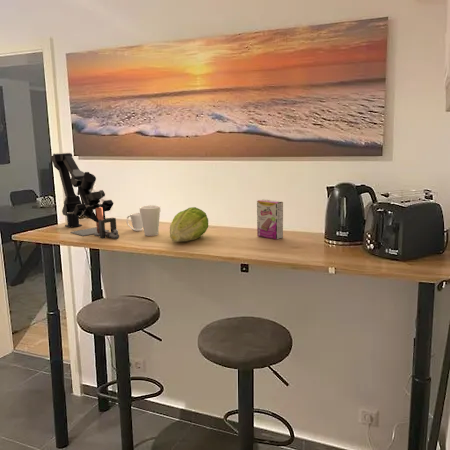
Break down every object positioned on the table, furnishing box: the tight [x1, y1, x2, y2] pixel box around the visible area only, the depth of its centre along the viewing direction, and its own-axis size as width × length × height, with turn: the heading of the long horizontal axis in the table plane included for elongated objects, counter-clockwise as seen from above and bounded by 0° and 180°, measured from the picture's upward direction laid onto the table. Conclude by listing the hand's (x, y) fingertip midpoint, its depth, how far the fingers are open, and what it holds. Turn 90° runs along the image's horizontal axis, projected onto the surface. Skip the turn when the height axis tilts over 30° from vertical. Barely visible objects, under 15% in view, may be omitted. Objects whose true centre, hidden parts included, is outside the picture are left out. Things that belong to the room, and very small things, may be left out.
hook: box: [93, 207, 120, 240], centre depth 224 cm, size 17×6×13 cm, turn 45°
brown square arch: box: [98, 217, 117, 239], centre depth 223 cm, size 2×8×8 cm, turn 135°
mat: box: [70, 226, 110, 237], centre depth 236 cm, size 12×14×1 cm
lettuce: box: [169, 206, 209, 242], centre depth 213 cm, size 14×24×15 cm
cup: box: [126, 212, 144, 232], centre depth 237 cm, size 7×10×8 cm
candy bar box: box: [256, 198, 284, 241], centre depth 214 cm, size 11×5×16 cm, turn 47°
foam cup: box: [139, 204, 161, 237], centre depth 226 cm, size 10×9×13 cm
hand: (101, 221), depth 226 cm, fingers closed on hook, 3 cm apart
